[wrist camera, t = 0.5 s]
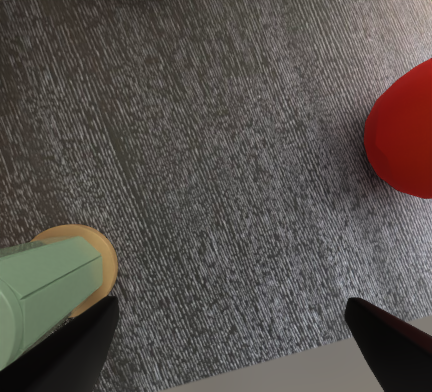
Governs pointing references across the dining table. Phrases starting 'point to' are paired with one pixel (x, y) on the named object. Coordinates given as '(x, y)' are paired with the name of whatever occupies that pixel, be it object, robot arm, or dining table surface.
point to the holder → (101, 246)
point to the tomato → (403, 133)
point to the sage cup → (43, 289)
